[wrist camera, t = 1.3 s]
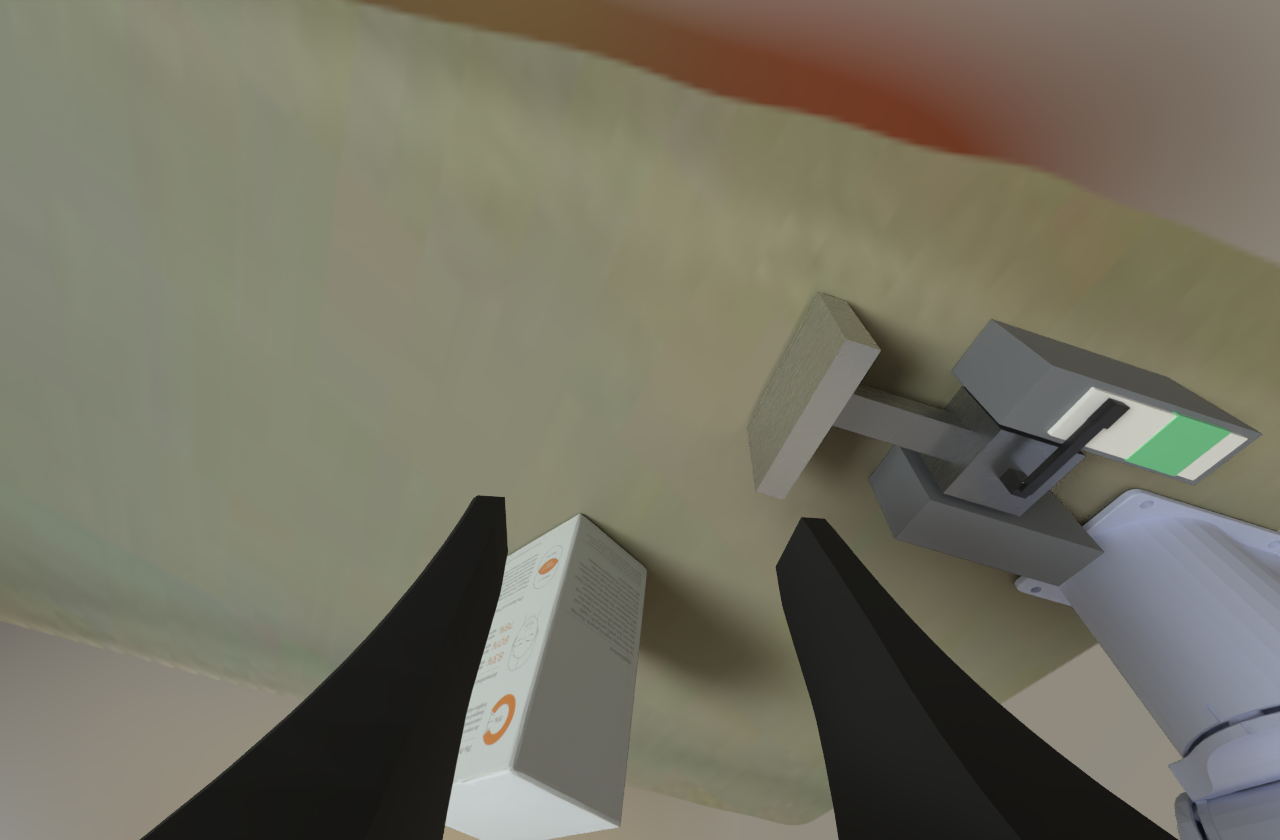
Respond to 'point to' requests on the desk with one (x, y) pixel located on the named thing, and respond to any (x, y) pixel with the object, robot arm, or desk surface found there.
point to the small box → (553, 692)
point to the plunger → (899, 421)
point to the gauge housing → (1054, 409)
